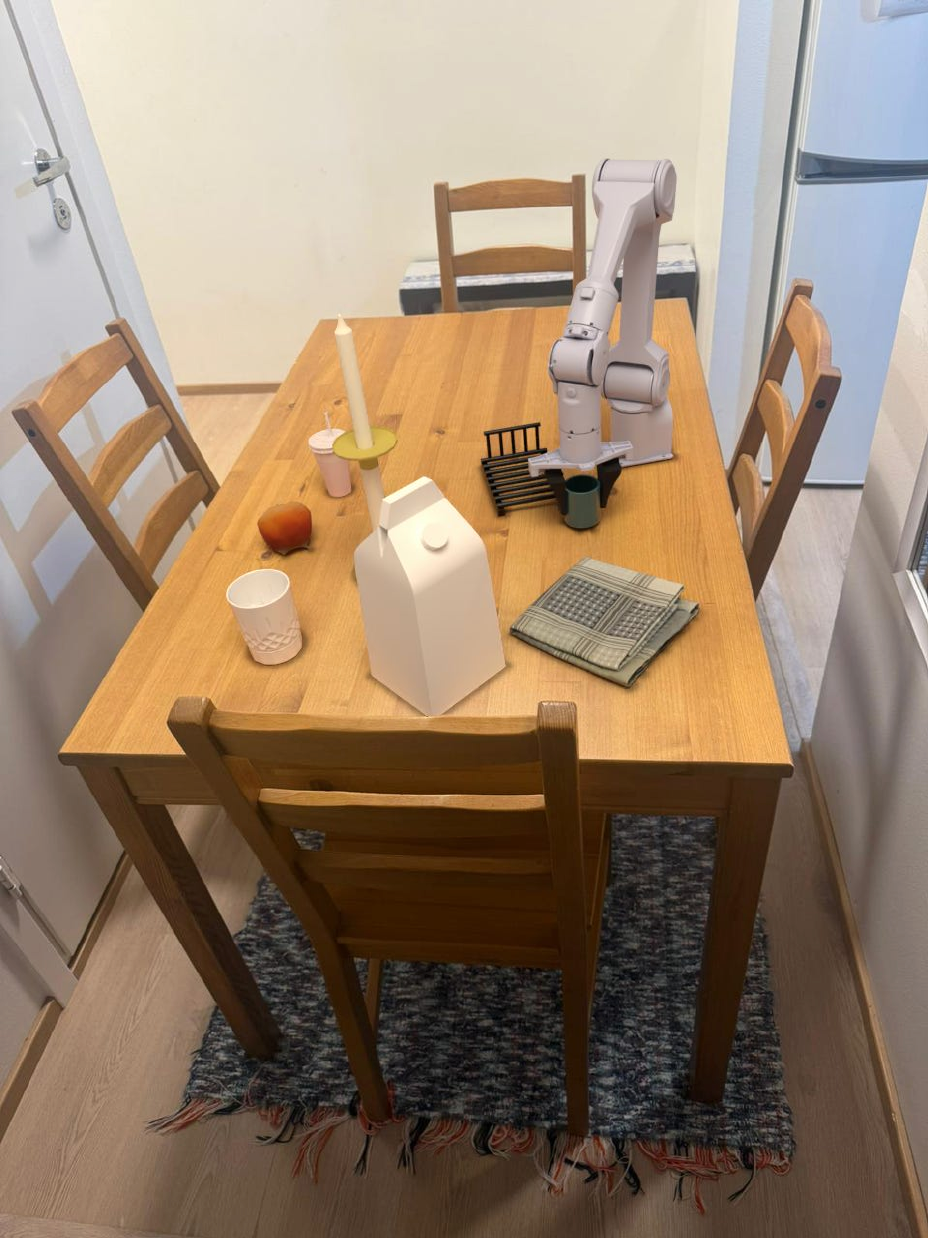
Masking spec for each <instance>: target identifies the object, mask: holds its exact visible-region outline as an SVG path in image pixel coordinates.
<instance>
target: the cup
mask: <svg viewBox="0 0 928 1238" xmlns="http://www.w3.org/2000/svg"><path fill="white" fill-rule="evenodd" d="M565 480H566V491H565V501H566V516H563V520H564V523H565V524H566V525H568V526H570V527H571V528H576V529H588V528H592V527H594V526H596V525H597V524H598V523H600V520H601V519H602V518H601V515H602V509H601V483H600V481H599V479H598V478H597V476H595V475H591V474H582V473H580V474H575V475H571V476H569V477H566V479H565Z"/></svg>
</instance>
